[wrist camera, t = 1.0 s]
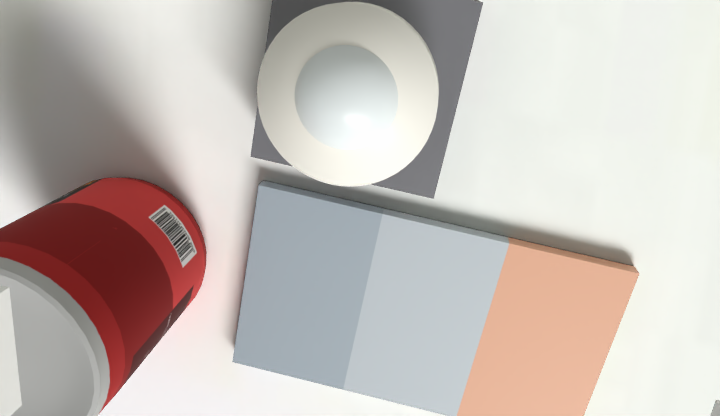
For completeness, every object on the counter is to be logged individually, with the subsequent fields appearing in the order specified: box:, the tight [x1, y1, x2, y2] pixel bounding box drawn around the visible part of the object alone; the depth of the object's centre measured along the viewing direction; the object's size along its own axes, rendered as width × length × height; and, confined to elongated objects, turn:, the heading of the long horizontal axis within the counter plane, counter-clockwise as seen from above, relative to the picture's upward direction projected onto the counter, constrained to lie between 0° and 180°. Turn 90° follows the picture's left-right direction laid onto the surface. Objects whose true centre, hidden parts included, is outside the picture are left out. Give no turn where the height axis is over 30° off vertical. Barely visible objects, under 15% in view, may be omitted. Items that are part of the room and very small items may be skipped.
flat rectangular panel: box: [233, 180, 639, 416], centre depth 31 cm, size 18×10×1 cm, turn 79°
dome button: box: [257, 2, 439, 187], centre depth 23 cm, size 6×6×6 cm
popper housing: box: [251, 0, 483, 199], centre depth 27 cm, size 8×8×3 cm
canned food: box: [0, 178, 206, 416], centre depth 27 cm, size 8×8×11 cm
